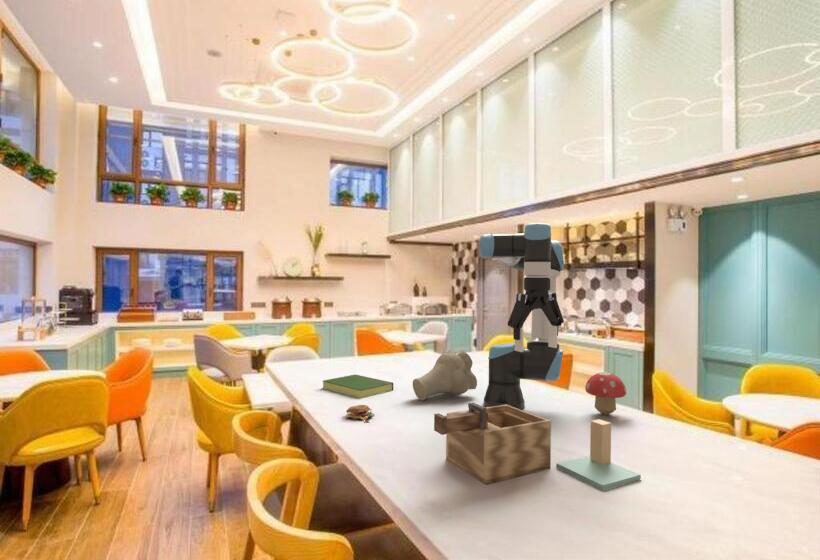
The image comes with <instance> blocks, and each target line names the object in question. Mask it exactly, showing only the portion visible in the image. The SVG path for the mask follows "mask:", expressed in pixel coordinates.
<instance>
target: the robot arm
mask: <svg viewBox="0 0 820 560" xmlns="http://www.w3.org/2000/svg"><path fill="white" fill-rule="evenodd" d="M479 238H480V239H479V247H478V248H479V255H480V256H481V257H482V258H488V259H491V258H495V259H496V260H497V261H498V262H499V264H501V265H503V266H505V267H506V268H510V269H513V270H518V271H519V270H520V271H523V276H525V277H524V278H523V290H525V293H517V294H516V298H515V303H514V305H513V307H512V308H513V309H512V311H511V313H510V316H509V319H508V321H507V326H508V327H510V328H512V329H513V330H512V331H513V333H512V334H513V337H512V338H513V340H514V342H505V343H504V342H503V343H497V344H494V345H491V346H490V348H489V351H488V352H489V353H488V385H487V387H486V391H485V393H484V397H483V406H484V407H492V406H499V405H506V404H507V405H509V406H512V407H515V408H518V409H520V410H523V409H525V398H524V395H523V392H522V389H521V380H530V381H542V382H543V381H544V382H556V381H558V380H559V379H560V376H561V370H562V364H563V357H564V349H562V348H560V344H559V342H558V336H559V327H562V324H563V323H564V322H565V320H564V317H563V314H562V311H561V308H560V306H559V302H558V299H557V296H558V295H557V279H558V278H559V277H560V276H561V272H562V271H564V270H565V261H564V253H563V246H562V243H561V242H560V241H559V240H552V227H551V225H550V224H549V223H543V222H542V223H540V222H539V223H536V222H535V223H528V224H526V225H525V226H524V233H489V234H488V233H486V234H482V235H481V236H480V237H479ZM530 315H531V332H530V333H531V334H530V335H531V336H530V339H529V340H528V341H527V343H526V347H524V328H522V327H523V326H524V325H525V322H526V321H527V319H528V318H529V316H530Z"/></svg>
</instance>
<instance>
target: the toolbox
mask: <svg viewBox="0 0 820 560" xmlns="http://www.w3.org/2000/svg"><path fill="white" fill-rule="evenodd" d="M467 408H468V409H465V410H459V411H458V410H457V411H452V412H447V413H446V415H453V414H460V413H466V412H473V411H478V412H480V428H474V429H468V430H462V431H456V432H451V433H447V434H445V435H446V437H445V439H446V440H445V441H446V442H445V459H446V460H447V461H448V462H450V463H451V464H453V465H455V466H457V467H458V468H460V470H463V472H466V473H467V474H469V475H471V476H472V477H474V478H475V479H476V480H478V481H480V482H482V483H483V484H484V485H490V484H493V483H498V482H502V481H506V480H510V479H515V478H518V477H522V476H523V477H524V476H527V475H531V474H534V473H535V474H536V473H539V472H543V471H547V470H551V455H552V454H551V447H552V446H551V445H552V437H551V436H552V420H550V419H548V418H545V417H542V416H539V415H536V414H535V413H534V414H533V413H532V412H528V411H526V410H523V409H518V408H515V407H512V406H509V405H507V404H506V405H499V406H492V407H486V406H484V405H480V404H477V403H475V402H467ZM486 412H487V413H488V426H486Z"/></svg>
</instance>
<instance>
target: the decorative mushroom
mask: <svg viewBox="0 0 820 560" xmlns="http://www.w3.org/2000/svg"><path fill="white" fill-rule="evenodd" d="M584 389H585V392H586V393H588V395H591V396H595V400H594V409H596V410H597V411H598V412H599V413H600V414H601V415H611V414H613V413H614V412H615V411H617V403H616V402H617V401H616V399H619V398H623V397H625V396H626V395H627V389H626V385H625V383H624V382H623V381H622V379H621V378H620V377H618V375H616V374H614V373H612V372H608V371H600V372H596V373H594V374H593V375H591V376H590V377H589V378H588V380H587V382H586V383H585V388H584Z"/></svg>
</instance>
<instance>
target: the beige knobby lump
mask: <svg viewBox="0 0 820 560" xmlns="http://www.w3.org/2000/svg"><path fill="white" fill-rule="evenodd" d="M472 368H473V360H472V358H471V355H469V354H468V353H467V352H466V351H464V350H461V351H459V352H457V353H456V351H455V350H453V349H450V350H448V351H447V352H445V353H442V354H441V355H440V356H438V358H437V359H436V361H435V363H434V365H433V367H432V369H430V371H428V372H427V373H426V374H424V375H422V376H420V377H417V378H414V379H413V380H412V388H413V393H414V394H415V397H416V398H417V399H418V400H420V401H425V400H426V399H429V398H430V397H433V396H435V395H440V394H449V395H453V396H455V395H456V396H458V395H463V394H465V393H467V392H468V391H469V390H475V389H476V388H477V386H478V380H477V377H476V375H475V374H474V373H473V372H472Z"/></svg>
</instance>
